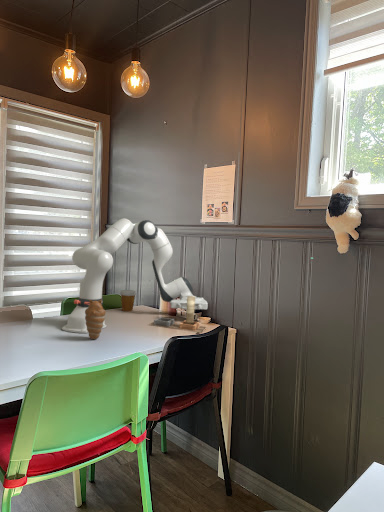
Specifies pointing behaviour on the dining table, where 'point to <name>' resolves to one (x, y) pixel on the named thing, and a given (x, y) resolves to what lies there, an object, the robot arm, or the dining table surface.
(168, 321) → the rail board
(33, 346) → the dining table surface
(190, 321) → the peg
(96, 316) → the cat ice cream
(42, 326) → the dining table surface
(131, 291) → the disposable coffee cup
